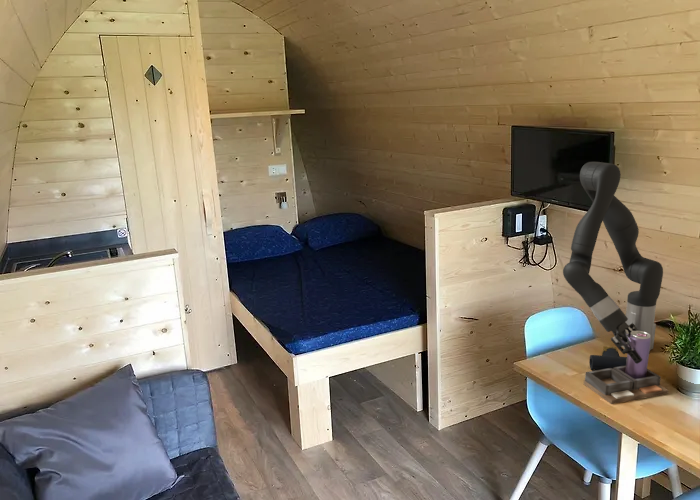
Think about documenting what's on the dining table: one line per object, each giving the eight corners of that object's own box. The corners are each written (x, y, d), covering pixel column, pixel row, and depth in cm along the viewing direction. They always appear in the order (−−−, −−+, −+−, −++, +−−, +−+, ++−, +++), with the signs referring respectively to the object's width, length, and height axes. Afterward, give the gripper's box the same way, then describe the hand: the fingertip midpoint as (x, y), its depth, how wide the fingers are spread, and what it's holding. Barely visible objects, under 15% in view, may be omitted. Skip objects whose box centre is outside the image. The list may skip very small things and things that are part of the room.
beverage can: (644, 384, 181) (650, 339, 177) (623, 379, 184) (628, 335, 180) (646, 376, 186) (652, 332, 182) (626, 372, 189) (631, 329, 185)
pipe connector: (586, 343, 204) (633, 346, 201) (585, 357, 205) (631, 360, 202) (593, 358, 193) (642, 361, 190) (591, 373, 194) (640, 376, 191)
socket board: (637, 374, 191) (638, 363, 190) (667, 393, 179) (669, 381, 178) (583, 384, 186) (584, 372, 185) (611, 404, 174) (612, 391, 173)
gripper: (608, 314, 179) (645, 361, 174) (626, 301, 189) (661, 346, 184) (590, 325, 184) (625, 371, 179) (608, 313, 194) (641, 356, 189)
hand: (643, 358), depth 182 cm, fingers closed on beverage can, 6 cm apart
